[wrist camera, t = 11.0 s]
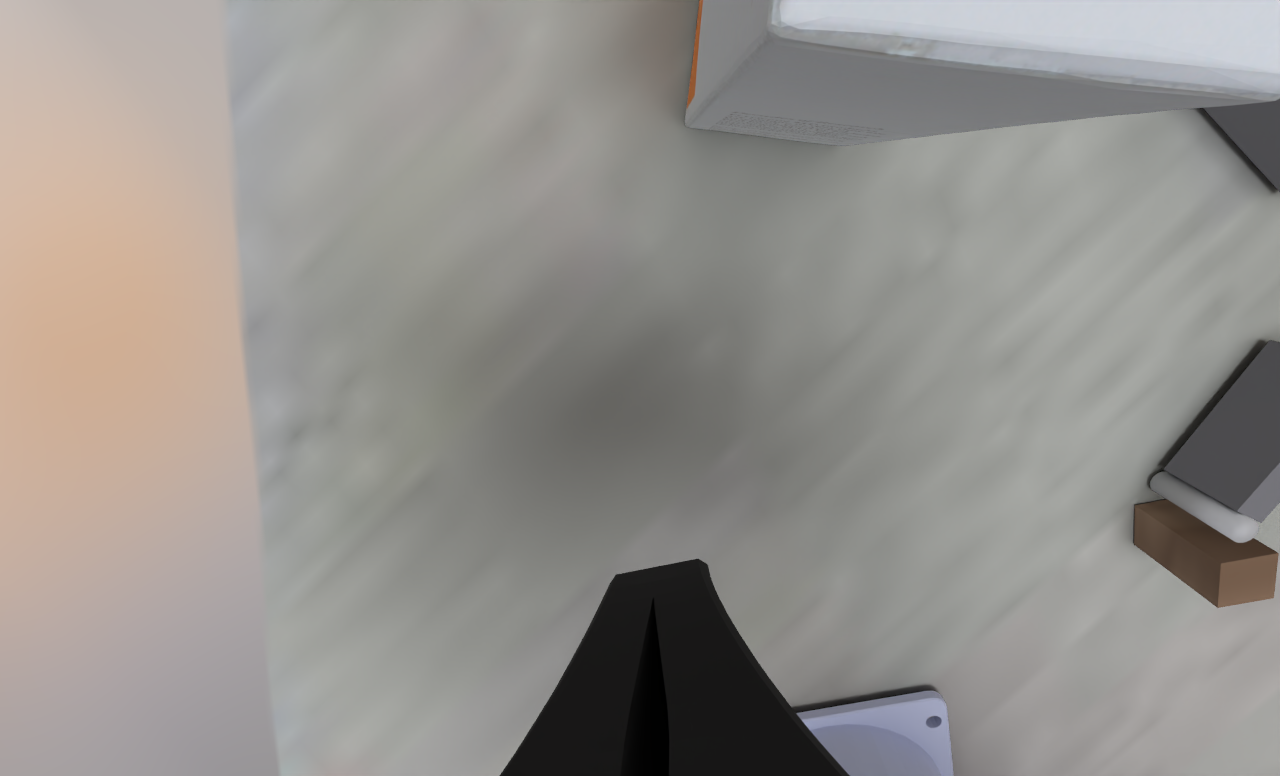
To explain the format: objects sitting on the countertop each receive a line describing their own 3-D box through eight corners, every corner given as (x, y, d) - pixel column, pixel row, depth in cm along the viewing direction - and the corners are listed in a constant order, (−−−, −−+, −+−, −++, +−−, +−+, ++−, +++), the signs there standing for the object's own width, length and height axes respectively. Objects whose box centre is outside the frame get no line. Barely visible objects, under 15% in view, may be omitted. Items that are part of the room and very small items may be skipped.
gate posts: (1181, 535, 19) (1273, 597, 16) (1134, 544, 19) (1217, 607, 17) (1209, -51, 14) (1348, -106, 12) (1146, -34, 14) (1268, -85, 12)
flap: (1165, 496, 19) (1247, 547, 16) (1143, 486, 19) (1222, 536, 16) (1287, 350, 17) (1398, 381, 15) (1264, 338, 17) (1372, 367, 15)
